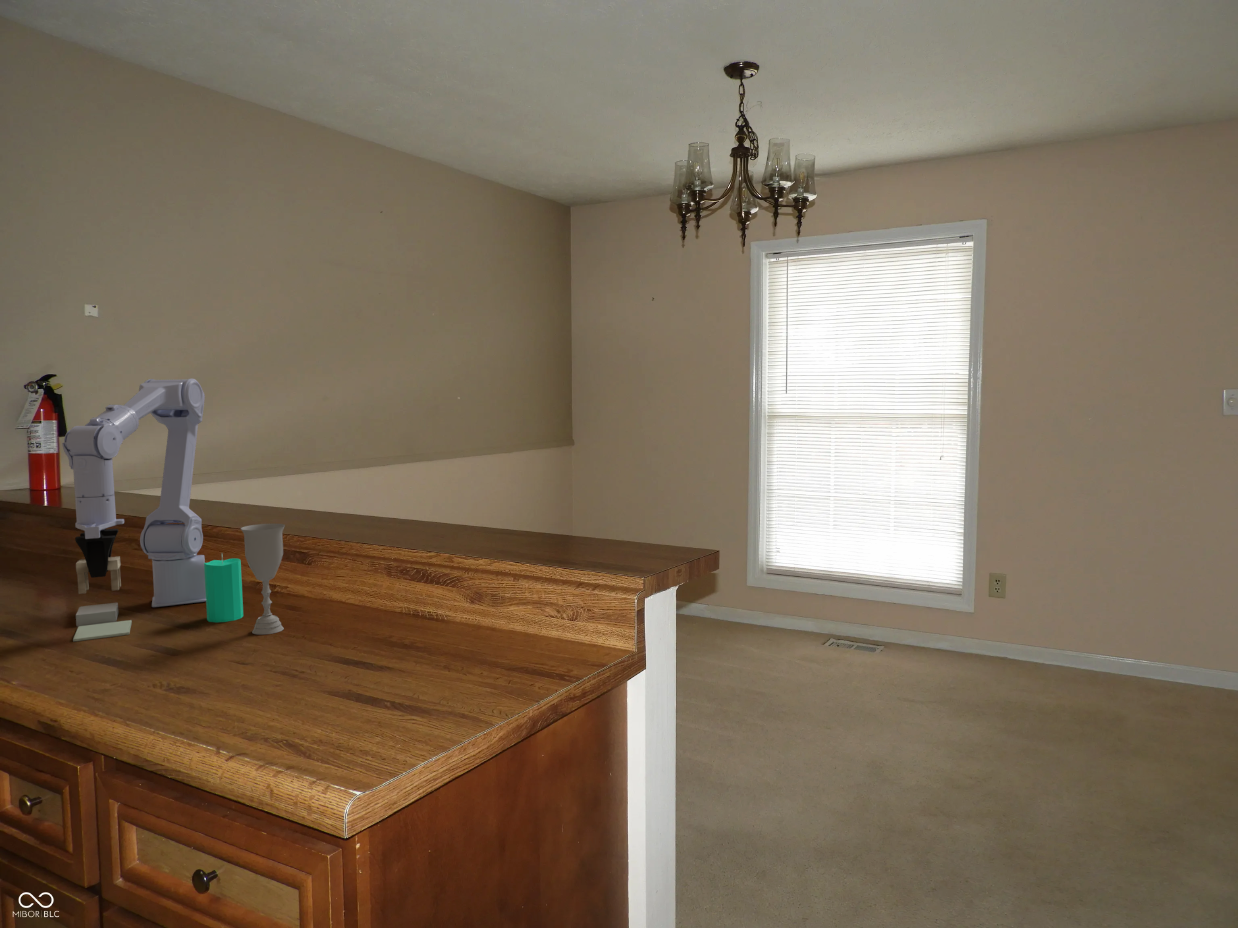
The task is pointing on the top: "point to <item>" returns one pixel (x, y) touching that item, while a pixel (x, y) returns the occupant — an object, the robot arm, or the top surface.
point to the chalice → (264, 567)
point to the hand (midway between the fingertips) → (100, 574)
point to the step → (97, 614)
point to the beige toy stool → (112, 565)
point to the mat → (102, 630)
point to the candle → (223, 590)
